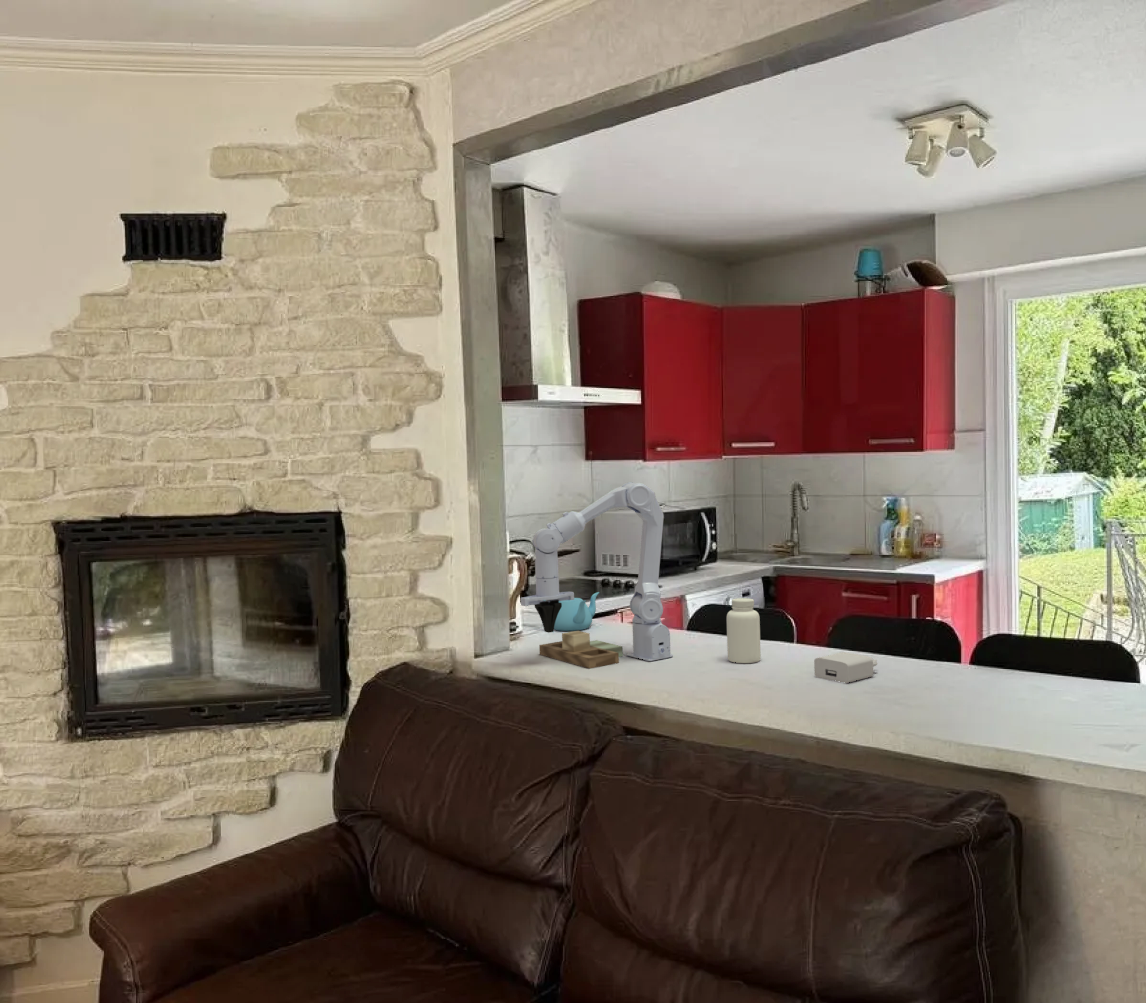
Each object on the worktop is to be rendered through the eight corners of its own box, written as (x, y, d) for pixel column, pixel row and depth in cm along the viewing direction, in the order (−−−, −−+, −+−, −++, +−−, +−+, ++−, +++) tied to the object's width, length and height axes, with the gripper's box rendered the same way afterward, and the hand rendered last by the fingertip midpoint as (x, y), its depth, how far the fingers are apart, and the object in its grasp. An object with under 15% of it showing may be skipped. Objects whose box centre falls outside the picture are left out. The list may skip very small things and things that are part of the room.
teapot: (557, 623, 292) (556, 590, 291) (603, 624, 286) (602, 590, 286) (539, 632, 278) (537, 597, 278) (587, 633, 273) (585, 598, 272)
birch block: (590, 649, 239) (589, 633, 238) (573, 652, 236) (573, 636, 236) (578, 646, 243) (578, 630, 243) (562, 649, 240) (561, 633, 240)
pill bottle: (759, 656, 235) (757, 596, 234) (762, 664, 227) (760, 601, 226) (726, 657, 236) (725, 597, 235) (728, 664, 228) (727, 602, 227)
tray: (636, 659, 236) (635, 649, 236) (589, 668, 228) (588, 658, 228) (584, 646, 254) (584, 637, 254) (539, 654, 246) (539, 645, 246)
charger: (890, 673, 214) (848, 684, 205) (856, 667, 222) (814, 677, 213) (889, 652, 214) (847, 663, 205) (855, 647, 221) (813, 657, 213)
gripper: (562, 573, 241) (563, 625, 242) (513, 578, 233) (515, 633, 234) (578, 575, 235) (579, 629, 236) (528, 581, 227) (530, 637, 228)
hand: (548, 631), depth 234 cm, fingers closed
